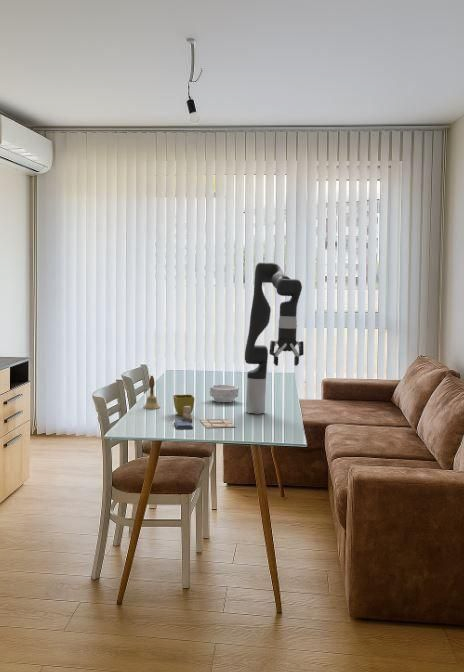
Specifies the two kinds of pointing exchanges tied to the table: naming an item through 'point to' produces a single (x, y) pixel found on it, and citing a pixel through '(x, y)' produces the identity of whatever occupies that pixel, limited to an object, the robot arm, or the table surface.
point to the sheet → (217, 423)
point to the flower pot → (183, 403)
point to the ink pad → (183, 425)
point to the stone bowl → (224, 393)
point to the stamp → (187, 414)
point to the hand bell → (151, 397)
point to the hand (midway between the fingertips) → (286, 365)
